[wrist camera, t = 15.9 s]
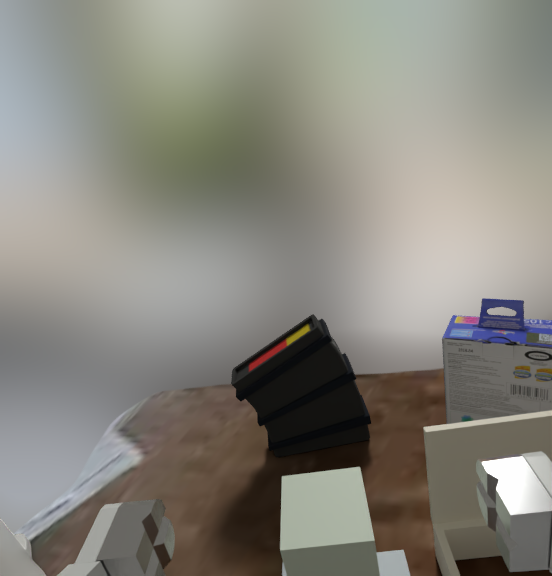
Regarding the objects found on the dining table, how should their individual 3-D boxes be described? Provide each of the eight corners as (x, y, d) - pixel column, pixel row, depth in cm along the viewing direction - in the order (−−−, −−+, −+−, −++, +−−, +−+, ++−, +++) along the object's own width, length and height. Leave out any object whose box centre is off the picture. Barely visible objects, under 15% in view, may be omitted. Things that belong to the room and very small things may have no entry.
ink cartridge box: (557, 423, 44) (565, 296, 39) (558, 461, 40) (567, 325, 35) (455, 405, 49) (449, 292, 44) (446, 438, 45) (438, 317, 40)
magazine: (399, 424, 46) (321, 326, 41) (300, 484, 48) (214, 398, 43) (389, 403, 49) (315, 310, 45) (296, 460, 52) (217, 377, 47)
